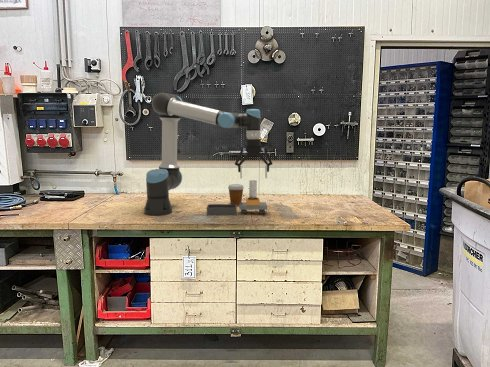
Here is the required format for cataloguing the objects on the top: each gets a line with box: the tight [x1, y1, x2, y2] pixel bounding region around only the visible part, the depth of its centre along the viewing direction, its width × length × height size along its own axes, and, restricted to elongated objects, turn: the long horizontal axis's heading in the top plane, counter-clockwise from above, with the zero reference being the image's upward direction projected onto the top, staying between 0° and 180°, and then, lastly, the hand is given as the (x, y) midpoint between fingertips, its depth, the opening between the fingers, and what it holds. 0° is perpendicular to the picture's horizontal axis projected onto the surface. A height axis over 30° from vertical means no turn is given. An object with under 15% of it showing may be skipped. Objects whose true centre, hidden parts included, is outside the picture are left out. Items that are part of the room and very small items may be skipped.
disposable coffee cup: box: [227, 183, 245, 207], centre depth 226 cm, size 10×10×12 cm
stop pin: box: [248, 179, 258, 200], centre depth 205 cm, size 4×4×13 cm
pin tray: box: [206, 203, 238, 216], centre depth 206 cm, size 16×9×4 cm, turn 92°
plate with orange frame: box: [238, 197, 268, 216], centre depth 206 cm, size 15×9×8 cm, turn 92°
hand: (253, 178), depth 204 cm, fingers open, 13 cm apart
